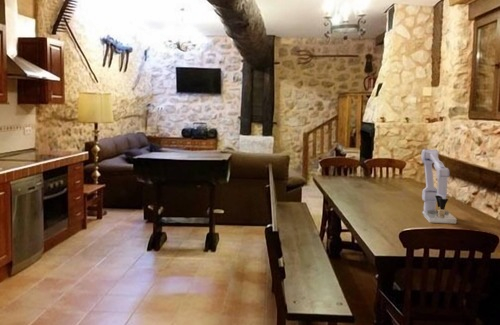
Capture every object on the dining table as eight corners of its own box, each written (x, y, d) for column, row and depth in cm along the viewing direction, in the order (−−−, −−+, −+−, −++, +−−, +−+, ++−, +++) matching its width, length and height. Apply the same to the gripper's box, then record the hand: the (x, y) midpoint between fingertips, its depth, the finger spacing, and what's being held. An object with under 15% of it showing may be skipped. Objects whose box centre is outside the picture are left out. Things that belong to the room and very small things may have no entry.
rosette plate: (423, 216, 322) (424, 209, 322) (449, 217, 320) (449, 210, 319) (429, 222, 304) (429, 215, 304) (456, 223, 302) (456, 216, 302)
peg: (437, 219, 312) (438, 209, 311) (443, 220, 311) (443, 209, 311) (439, 221, 309) (439, 210, 308) (444, 221, 308) (444, 210, 307)
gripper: (451, 189, 300) (450, 210, 302) (446, 185, 314) (444, 205, 316) (439, 188, 301) (438, 210, 303) (434, 185, 315) (433, 205, 317)
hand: (440, 208), depth 309 cm, fingers open, 7 cm apart
